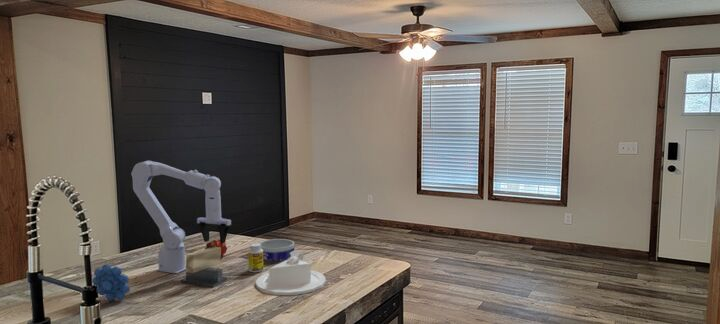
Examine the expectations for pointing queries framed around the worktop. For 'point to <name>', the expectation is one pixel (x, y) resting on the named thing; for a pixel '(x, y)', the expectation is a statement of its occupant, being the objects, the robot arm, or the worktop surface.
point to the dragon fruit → (217, 244)
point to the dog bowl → (277, 250)
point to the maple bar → (203, 259)
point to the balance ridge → (205, 277)
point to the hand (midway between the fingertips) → (214, 242)
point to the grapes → (111, 282)
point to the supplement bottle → (255, 258)
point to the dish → (291, 277)
